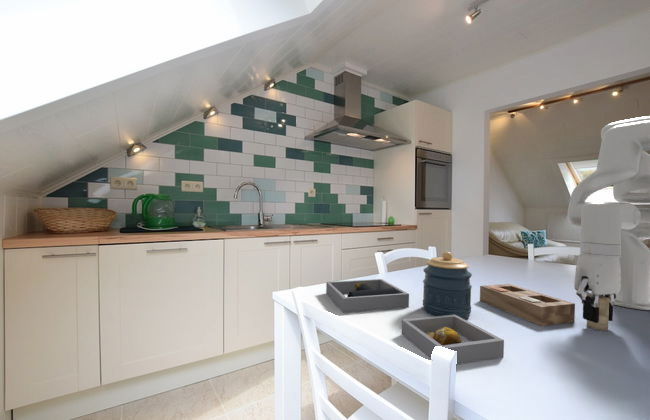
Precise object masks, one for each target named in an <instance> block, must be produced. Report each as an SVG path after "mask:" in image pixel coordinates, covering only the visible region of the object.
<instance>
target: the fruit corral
mask: <svg viewBox="0 0 650 420" xmlns="http://www.w3.org/2000/svg"><path fill="white" fill-rule="evenodd" d="M443 327H447V328H450V329H452V330H454V331H456V332H457V333H458V335H459V334H460V335H461V336H463V337H464V338H466V339H467V340H469V341H467V342H461V343H458V344H451V345H443V346H442V345H441V344H439V343H438V342H436V341H435V340H434V339H432V338H431V337H430V336H428V335H427V334H425V333H426V332H433V333H435V332H436V331H437V330H438V329H441V328H443ZM401 335H402V336H403V337H404V338H406V340H408V341H409V342H410V343H411V344H413V345H414V347H416V348H417V349H418V350H419V351H421V352H422V353H423V354H425V356H427V357H428V358H429V359H430V360H432V359H431V354H432V351H433V349H434V347H435V346H442V347H445V348H448V349H451V350H454V351H457V365H462V364H463V365H464V364H469V363H476V362H482V361H488V360H496V359H501V358H504V353H505V352H504V350H505V349H504V348H505V340H504V339H502V338H500V337H498V336H497V335H495V334H493V333H491V332H489V331H487V330H485V329H483V328H482V327H480V326H478V325H476V324H474V323H472V322H470V321H468V320H467V319H463V318H461V317H459V316H457V315H445V316H427V317H426V316H424V317H417V318H406V319H401ZM457 365H456V366H457Z"/></svg>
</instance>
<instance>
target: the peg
mask: <svg viewBox="0 0 650 420" xmlns="http://www.w3.org/2000/svg"><path fill="white" fill-rule="evenodd" d="M588 296H589V297H591V299H593V296H590V295H588ZM597 307H599V322H598V323H595V322H592V321H589V320H586V326H587V327H588V328H589V329H594V330H595V331H596V330H598V331H603V332H606V331H609V322H610V321H609V298H607V297H604V296H600V295H599V298H598V304H597Z"/></svg>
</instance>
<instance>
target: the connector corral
mask: <svg viewBox="0 0 650 420" xmlns="http://www.w3.org/2000/svg"><path fill="white" fill-rule="evenodd" d="M325 283H326V284H325V285H326V286H325V288H326V290H325V292H326V293H325V294H326V295H327V296H328V297H329V298H330V300H331V301H332V302H333V303H334V304H335V305H336V306H337V307H338V308H339V309H340V311H341V312H342V313H344V314H346V313H357V312H367V311H378V310H379V311H380V310H390V309H391V310H392V309H403V308H409V307H410V293H408V292H406V291H404V290H403V289H401V288H399V287H397V286H396V285H393V284H392V283H390V282H388V281H386V280H384V279H382V278H378V279H377V278H375V279H360V280H359V279H358V280H357V279H356V280H354V279H353V280H338V281H326V282H325ZM357 283H359V284H360V283H367V284H369V285H370V287H372V288H373V289H386V288H395V289H396V290H397V292H398V294H386V295H372V296H358V297H347V296H345V294H348V292H350V291H355V284H357Z"/></svg>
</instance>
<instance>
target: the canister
mask: <svg viewBox="0 0 650 420" xmlns="http://www.w3.org/2000/svg"><path fill="white" fill-rule="evenodd" d="M426 264H427V266H426V267H424V268H423V272H424V274H425V275H424V279H423V281H422V282H423V293H422V294H423V295H422V296H423V298H422V307H423V311H424V312H425V313H427V314H428V315H430V316H431V317H435V316H445V315H457V316H459V317H461V318H463V319H464V320H467V319H468V318H470V316H471V313H472V306H471V299H472V297H471V296H472V287H473V286H472V284H471V280H470V278H472V276H473V274H472V272H470V271H469V270H468V268H469V267H470V265H469V264H468V263H466V262H464V261H463V260H462V259H461V258H456V257H455V258H454V257H453V254H452V252H450V251H444V252H443V253H442V256H436V257H432V258H431V259H429V260H427V261H426Z"/></svg>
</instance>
